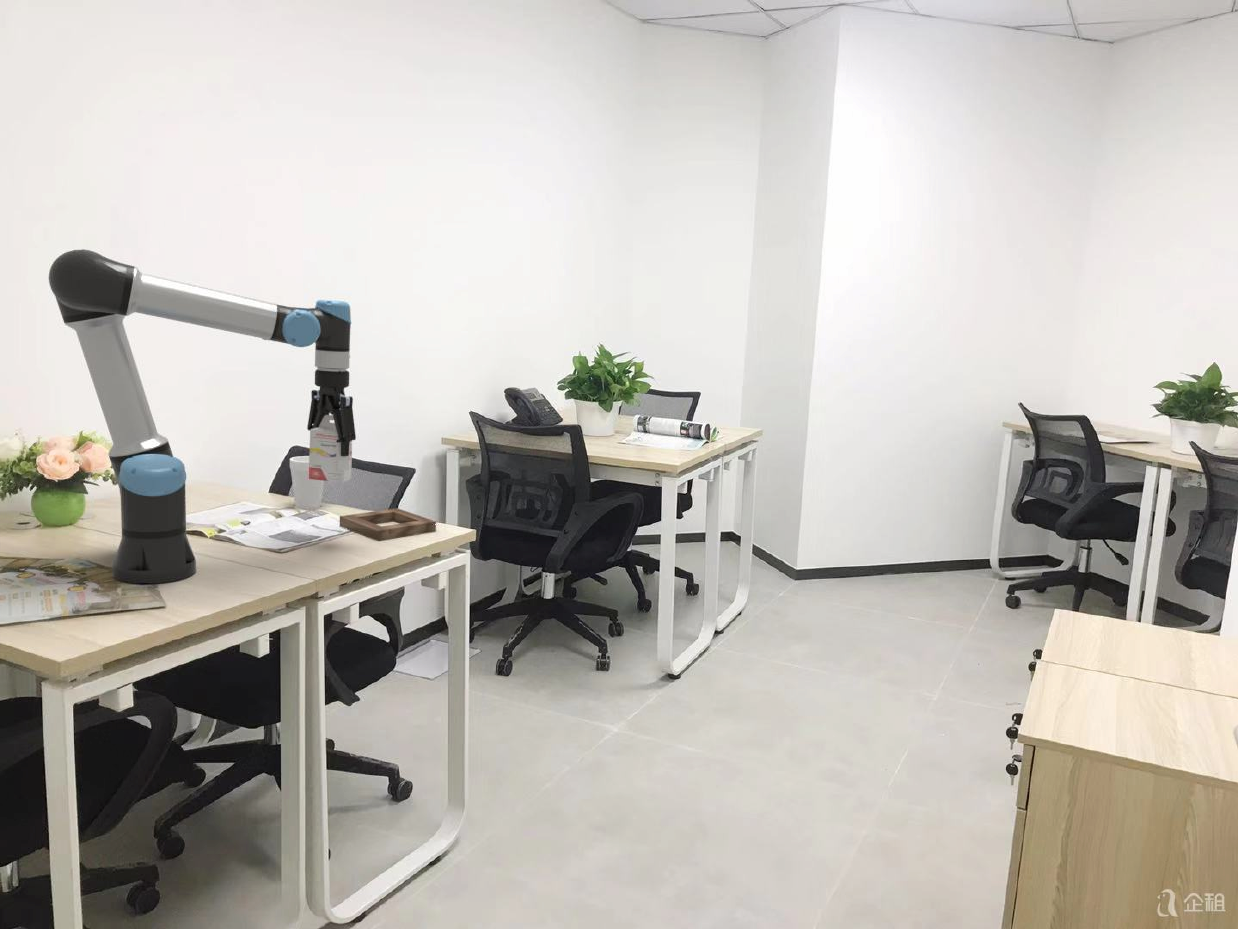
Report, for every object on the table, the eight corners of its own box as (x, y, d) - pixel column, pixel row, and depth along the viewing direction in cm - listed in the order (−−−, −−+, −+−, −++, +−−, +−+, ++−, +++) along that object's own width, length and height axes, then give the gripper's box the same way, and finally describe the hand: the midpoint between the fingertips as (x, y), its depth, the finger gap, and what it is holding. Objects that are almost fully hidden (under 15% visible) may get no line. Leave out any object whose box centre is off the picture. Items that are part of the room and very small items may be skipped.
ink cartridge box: (307, 479, 215) (308, 416, 213) (316, 475, 220) (317, 413, 218) (343, 483, 214) (345, 419, 212) (352, 479, 219) (353, 416, 217)
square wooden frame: (377, 541, 224) (378, 530, 224) (339, 526, 236) (339, 516, 235) (435, 531, 237) (436, 521, 236) (396, 517, 248) (397, 508, 248)
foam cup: (288, 503, 256) (288, 456, 253) (323, 502, 260) (323, 455, 257) (291, 511, 247) (292, 462, 245) (328, 509, 251) (328, 462, 249)
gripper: (374, 374, 208) (371, 473, 212) (321, 364, 223) (320, 456, 227) (343, 374, 203) (341, 476, 207) (292, 364, 217) (291, 459, 221)
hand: (330, 466), depth 217 cm, fingers closed on ink cartridge box, 9 cm apart
